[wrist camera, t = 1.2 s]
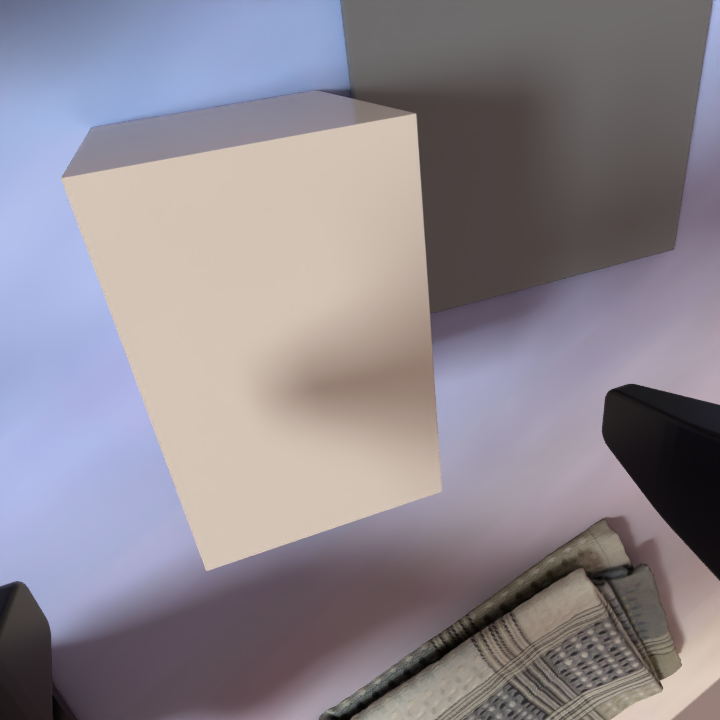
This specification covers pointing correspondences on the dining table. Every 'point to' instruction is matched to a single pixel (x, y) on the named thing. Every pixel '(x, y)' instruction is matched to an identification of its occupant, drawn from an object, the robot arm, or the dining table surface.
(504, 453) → the dining table surface
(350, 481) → the upright cream box
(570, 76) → the slate mat
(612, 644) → the dish towel
